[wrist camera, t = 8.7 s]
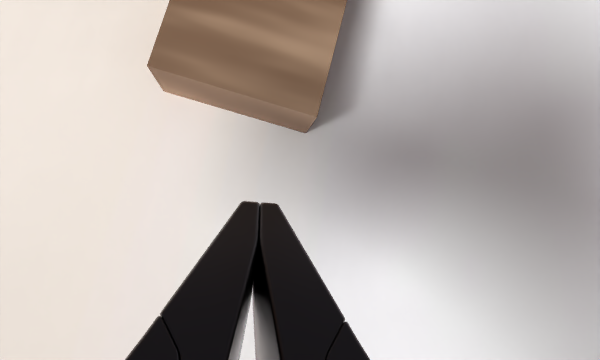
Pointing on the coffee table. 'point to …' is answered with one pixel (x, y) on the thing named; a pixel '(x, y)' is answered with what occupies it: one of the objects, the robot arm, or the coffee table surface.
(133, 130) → the coffee table surface
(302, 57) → the walnut card box
